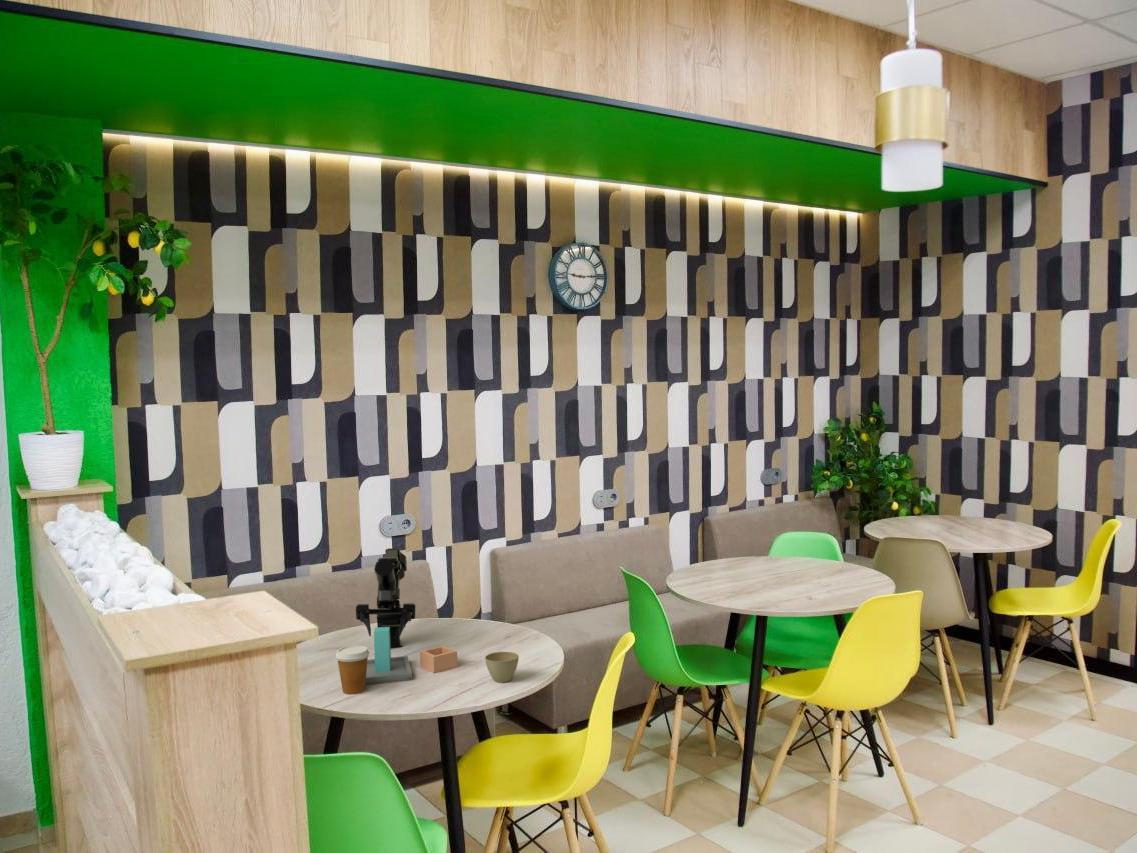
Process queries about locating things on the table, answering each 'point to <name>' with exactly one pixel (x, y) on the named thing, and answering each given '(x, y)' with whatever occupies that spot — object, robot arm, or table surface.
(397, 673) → the tray
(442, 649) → the holder
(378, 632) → the teal block
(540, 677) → the table surface
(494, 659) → the flower pot
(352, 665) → the disposable coffee cup
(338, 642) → the table surface
